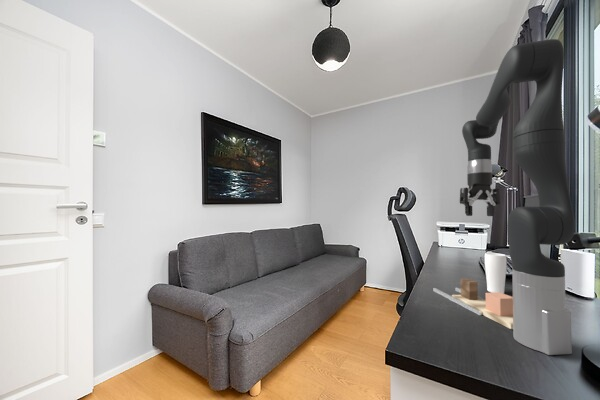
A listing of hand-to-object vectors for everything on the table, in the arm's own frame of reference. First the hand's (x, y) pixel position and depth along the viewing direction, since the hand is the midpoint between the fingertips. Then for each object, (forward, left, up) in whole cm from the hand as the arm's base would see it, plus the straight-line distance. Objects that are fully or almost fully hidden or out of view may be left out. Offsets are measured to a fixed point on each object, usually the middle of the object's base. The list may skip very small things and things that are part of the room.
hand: (479, 216), depth 91 cm
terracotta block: (-16, +8, -28) cm, 34 cm away
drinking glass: (+5, -11, -30) cm, 33 cm away
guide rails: (-3, +8, -30) cm, 31 cm away
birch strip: (-12, +8, -30) cm, 33 cm away
